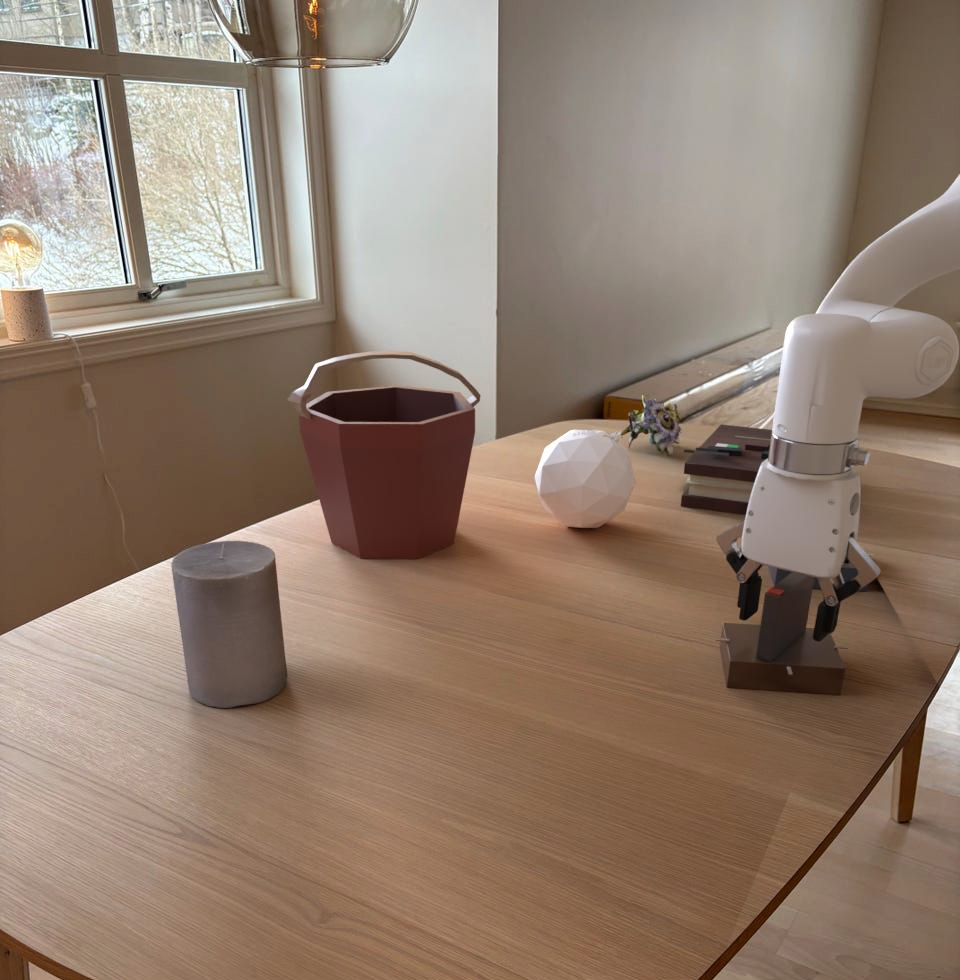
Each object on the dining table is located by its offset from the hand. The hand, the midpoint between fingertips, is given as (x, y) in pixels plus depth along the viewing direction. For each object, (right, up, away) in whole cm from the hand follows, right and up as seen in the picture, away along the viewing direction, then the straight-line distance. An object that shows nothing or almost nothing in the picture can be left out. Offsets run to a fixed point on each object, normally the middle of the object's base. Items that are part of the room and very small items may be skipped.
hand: (784, 624), depth 99 cm
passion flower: (0, +32, +78) cm, 84 cm away
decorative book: (+13, +22, +57) cm, 62 cm away
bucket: (-43, +13, +38) cm, 59 cm away
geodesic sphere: (-16, +15, +42) cm, 48 cm away
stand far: (+12, +7, +25) cm, 29 cm away
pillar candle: (-55, -6, -1) cm, 55 cm away
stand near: (0, -5, +2) cm, 5 cm away
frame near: (0, -2, +1) cm, 2 cm away
